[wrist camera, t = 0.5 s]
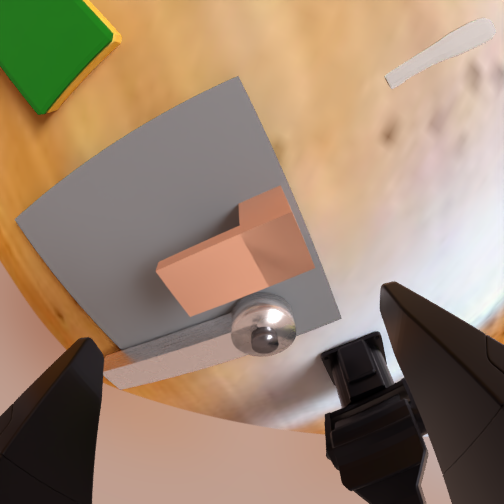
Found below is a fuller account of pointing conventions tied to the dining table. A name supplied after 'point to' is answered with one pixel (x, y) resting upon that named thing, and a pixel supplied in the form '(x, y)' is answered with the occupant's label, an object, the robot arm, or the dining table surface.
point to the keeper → (239, 256)
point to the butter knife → (444, 50)
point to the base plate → (165, 217)
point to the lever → (207, 343)
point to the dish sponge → (52, 47)
